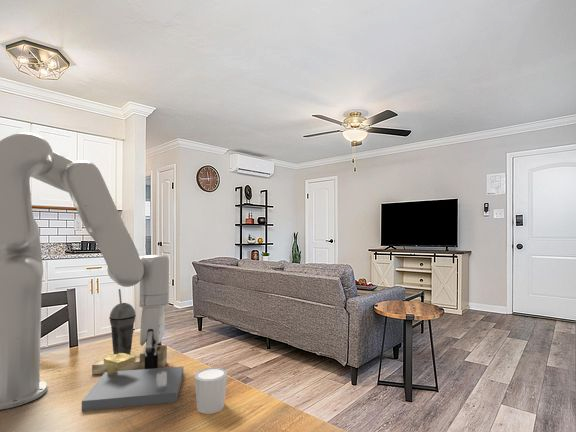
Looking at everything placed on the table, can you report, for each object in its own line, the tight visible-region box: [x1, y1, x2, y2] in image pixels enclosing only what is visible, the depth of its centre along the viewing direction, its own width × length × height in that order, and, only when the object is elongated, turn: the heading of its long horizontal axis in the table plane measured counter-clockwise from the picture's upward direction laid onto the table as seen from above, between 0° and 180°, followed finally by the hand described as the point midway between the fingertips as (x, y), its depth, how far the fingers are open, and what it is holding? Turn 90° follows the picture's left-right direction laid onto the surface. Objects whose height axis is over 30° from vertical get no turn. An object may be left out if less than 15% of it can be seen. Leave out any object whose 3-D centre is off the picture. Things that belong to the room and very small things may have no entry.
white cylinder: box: [193, 367, 228, 415], centre depth 75 cm, size 7×7×7 cm
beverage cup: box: [109, 288, 137, 355], centre depth 105 cm, size 7×7×20 cm
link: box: [91, 344, 168, 375], centre depth 94 cm, size 18×6×5 cm, turn 101°
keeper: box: [103, 353, 137, 375], centre depth 86 cm, size 7×5×6 cm
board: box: [81, 365, 185, 412], centre depth 82 cm, size 19×15×2 cm
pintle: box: [156, 371, 167, 391], centre depth 78 cm, size 2×2×6 cm
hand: (153, 365), depth 95 cm, fingers closed on link, 6 cm apart
